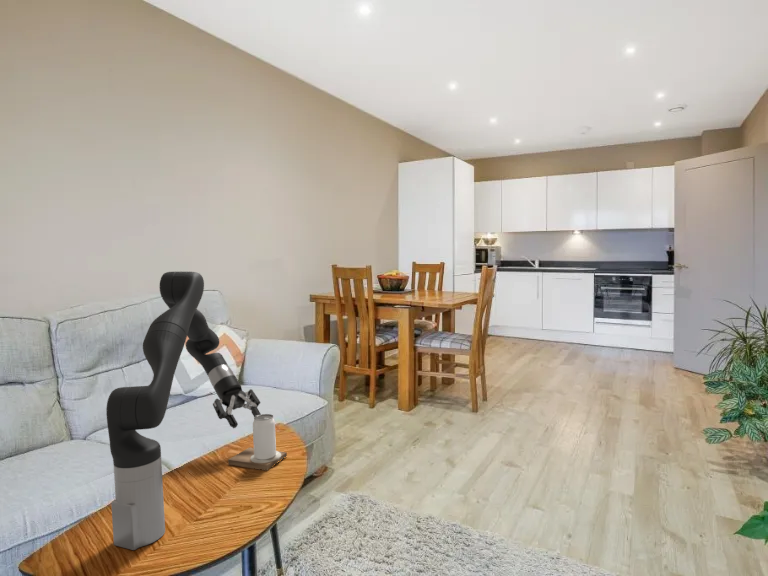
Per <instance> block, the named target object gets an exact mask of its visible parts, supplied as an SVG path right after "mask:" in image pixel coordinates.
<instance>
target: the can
mask: <svg viewBox="0 0 768 576" xmlns="http://www.w3.org/2000/svg"><path fill="white" fill-rule="evenodd" d="M275 421H276V420H275V419H274V414H271V413H269V414H268V413H265V414H261V415H258V416H255V417H254V416H253V422H252V436H253V437H252V438H253V448H254V457H255V458H256V459H257V460H268V459H271V458H273V457H274V456H275V455H276V451H277V444H276V443H277V439H276V436H277V435H276V422H275Z"/></svg>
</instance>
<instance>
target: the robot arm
mask: <svg viewBox="0 0 768 576" xmlns="http://www.w3.org/2000/svg"><path fill="white" fill-rule="evenodd" d="M159 280H160V281H159V293H160V296H161V298H162V300H163V302H164V303H165V304H166V306H167V307H168V308H169V309H167V310H166V311H164V312H163V313H161V314H160V315H158V316H157V317H155V319H154V320H153V321H152V322H151V323H150V324H149V327H148V329H147V332H146V334H145V337H144V338H143V339H144V340H143V341H142V351H143V355H144V357H145V359H146V361H147V363H148V365H149V366H150V368H151V371H152V373H153V377H152V381H151V382H150V383H149V384H148V385H140V386H139V385H138V386H137V385H136V386H123V387H122V386H121V387H117V388H114V389H113V390H112V391H111V392H110V394H109V395H108V398H107V402H106V408H105V409H106V423H107V424H106V425H107V430H108V439H109V449H110V454H111V457H112V461H113V462H112V463H113V464H112V465H113V475H114V476H113V478H114V479H113V480H114V494H115V499H114V500H112V501H111V506H110V507H111V521H112V522H111V523H112V536H113V539H112V540H113V546H116V547H120V548H124V549H128V550H131V551H135V550H137V549H139V548H141V547H144V546H148V545H150V544H153V543H154V542H156V541H158V540H159V539H160V538H162V537H163V535H165V533H166V523H165V521H166V520H165V519H166V517H165V503H164V502H165V501H164V488H163V487H164V483H163V466H162V465H163V464H162V451H161V450H162V449H161V448H162V447H161V445H160V442H159V441H157V440H156V439H152V438H149V437H146V436H144V435H142V434H141V433H139V432H138V431H139V430H149V429H155V428H157V427H159V426H160V425H161V423H162V422H163V419H164V418H165V415H166V412H167V408H168V405H169V400H170V399H169V398H170V396H171V391H172V385H173V381H174V376H175V373H176V369H177V367H178V363H179V360H180V358H181V355H182V353H183V350H184V347H185V349H186V351H187V353H188V354H189V355H190V356H191V357H192V358H194V359H195V360H196V361H197V362H198V363H199V364H200V365H201V367H202V368H203V369H204V371H205V374H206V375H207V377H208V379H209V382H210V385H211V386H212V387H213V389H214V391H215V393H216V395H217V398H216V399H214V401H213V403H212V406H213V409H214V411H215V413H216V415H217V417H218V419H219V420H223V419H226V421H227V423H228V425H229V427H231V428H232V429H236V428H237V427H238V421H237V420H236V418H235V416H234V414H232V412H233V411H235V410H237V409H241V408H243V409H247V410H249V411H251V415H252V416H253V418H254V417H255V416H258V415H262V414H261V411H260V410H259V408H258V407H259V406H260V404H261V401H260V399H259V398H258V396H257V395H256V393H255V392H254V390H253V389H251V388H250V389H249V390H247V391H245V392H244V391H243V389H242V385H241V383H240V382H239V380H238V378H237V376H236V375H235V373H234V371H233V370H232V368H231V367H230V366H229V364H228V363H227V361H226V359H225V358H224V356H223V355H222V353H220V352H212V351H214V350H216V349H217V348H218V347H219V345H220V338H219V337H218V335H217V334H216V333H215V331H214V330H213V329H211V328H210V327H209V325H208V322H207V319H206V317H205V316H204V314H203V312H201V311H200V310H199V309H198V307H199V305H200V302H201V300H202V297H203V294H204V290H205V281H204V278H203V275H202V274H201V273H200V272H196V271H167V272H164V273H163V274H162V275H161V277H160V279H159ZM187 338H188V339H187ZM211 352H212V353H211ZM224 406H225V407H226V408H225V409H224ZM137 430H138V431H137Z"/></svg>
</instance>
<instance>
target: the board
mask: <svg viewBox="0 0 768 576" xmlns="http://www.w3.org/2000/svg"><path fill="white" fill-rule="evenodd" d="M286 456H287V457H288V453H287V452H285V451H278V450H276V455H275V456H274V457H273V458H271V459H268V460H257V459H256V458H255V457H254V447H247V448H246V449H244V450H243V451H241V452H239V453H237V454H235V455H233V456H232V457H230V458H229V459H228V460H227V462H228V465H229V466H235V467H242V468H248V469H254V468H255V469H254V470H260V469H262V470H261V471H266V470H267V471H269V470H270V469H271V468H270V467H272V466H273V465H274V464H276V463H277V462H278V461H280V460H281V459H283V458H284V457H286ZM287 457H286V458H287ZM283 460H284V459H283ZM276 465H277V464H276ZM273 467H274V466H273ZM273 467H272V468H273ZM269 468H270V469H269ZM268 469H269V470H268Z"/></svg>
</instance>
